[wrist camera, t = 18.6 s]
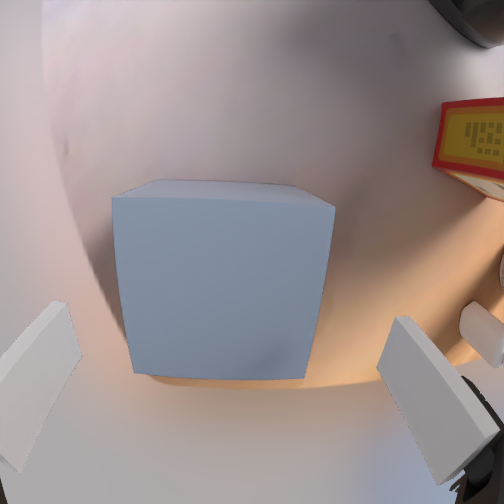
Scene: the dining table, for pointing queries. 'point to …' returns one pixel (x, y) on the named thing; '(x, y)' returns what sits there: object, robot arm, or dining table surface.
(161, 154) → the dining table surface
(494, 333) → the eye dropper bottle
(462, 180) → the baking soda box
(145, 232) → the light blue block
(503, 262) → the supplement can
